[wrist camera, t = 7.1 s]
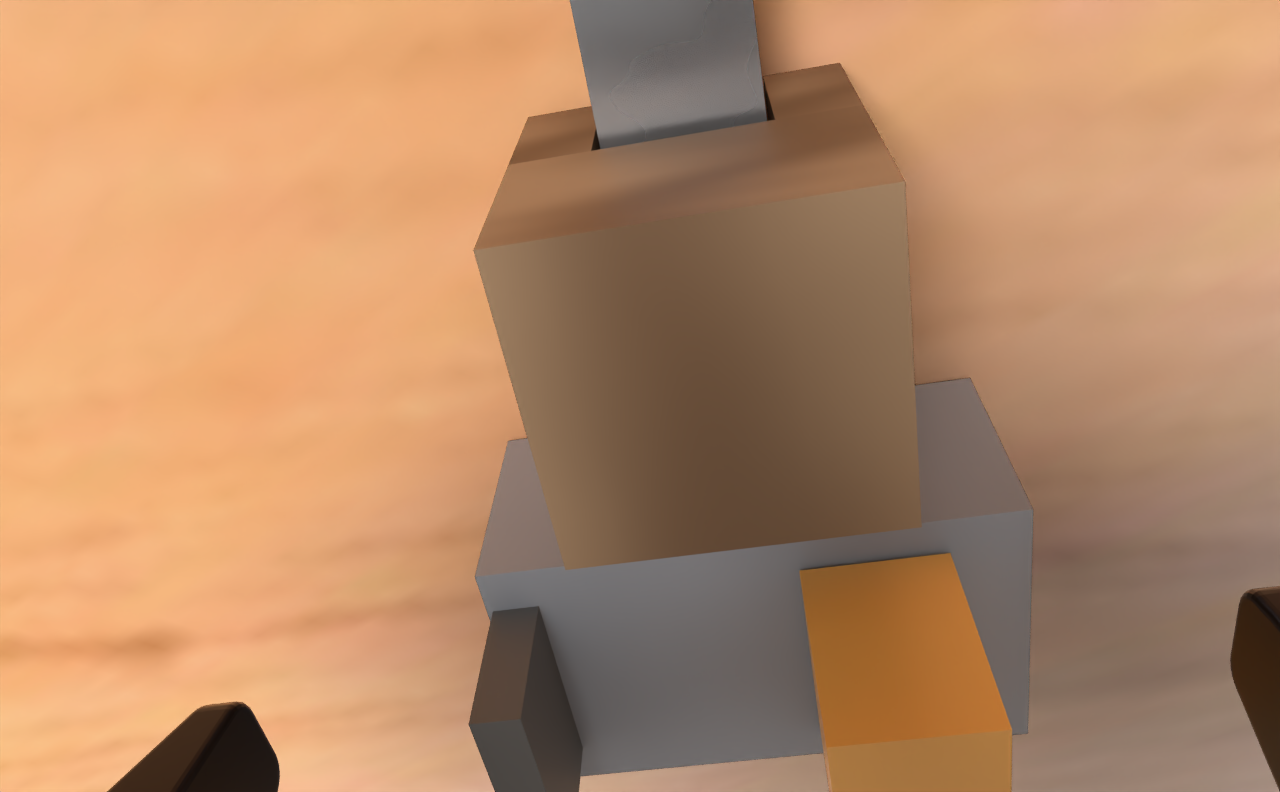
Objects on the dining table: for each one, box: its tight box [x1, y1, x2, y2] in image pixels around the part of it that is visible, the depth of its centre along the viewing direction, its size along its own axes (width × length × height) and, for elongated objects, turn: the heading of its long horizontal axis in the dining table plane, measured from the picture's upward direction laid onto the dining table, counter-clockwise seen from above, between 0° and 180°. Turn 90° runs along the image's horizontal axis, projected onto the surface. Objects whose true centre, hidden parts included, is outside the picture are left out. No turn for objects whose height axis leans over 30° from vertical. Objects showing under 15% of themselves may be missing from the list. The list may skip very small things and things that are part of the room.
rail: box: [570, 0, 767, 149], centre depth 15 cm, size 2×15×2 cm, turn 10°
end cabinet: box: [469, 378, 1033, 792], centre depth 18 cm, size 9×5×6 cm, turn 100°
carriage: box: [474, 63, 922, 570], centre depth 15 cm, size 5×5×5 cm
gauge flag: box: [799, 553, 1012, 792], centre depth 16 cm, size 2×4×4 cm, turn 10°
